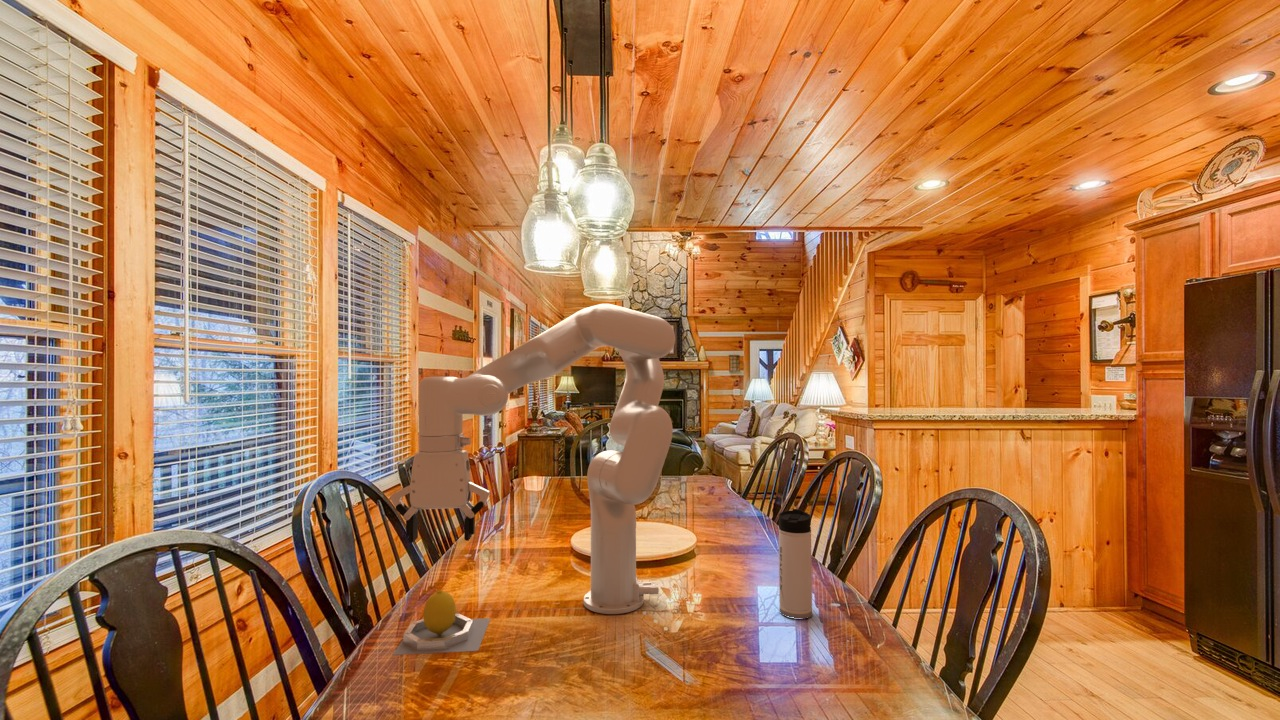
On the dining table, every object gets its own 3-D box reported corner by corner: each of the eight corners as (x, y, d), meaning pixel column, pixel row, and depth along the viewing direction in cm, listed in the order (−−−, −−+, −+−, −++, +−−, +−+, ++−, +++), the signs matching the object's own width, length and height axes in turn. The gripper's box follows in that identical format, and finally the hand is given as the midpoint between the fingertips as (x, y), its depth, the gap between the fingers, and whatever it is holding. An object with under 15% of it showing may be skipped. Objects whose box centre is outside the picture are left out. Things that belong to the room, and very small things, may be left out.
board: (490, 623, 109) (490, 618, 109) (477, 656, 96) (477, 650, 96) (415, 626, 107) (415, 621, 107) (392, 660, 94) (392, 654, 94)
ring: (476, 620, 107) (476, 612, 107) (464, 648, 96) (464, 639, 96) (416, 623, 106) (416, 615, 106) (397, 651, 95) (397, 642, 95)
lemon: (445, 643, 98) (445, 597, 98) (416, 640, 99) (417, 594, 100) (461, 629, 104) (461, 585, 104) (434, 627, 105) (434, 583, 105)
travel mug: (814, 609, 115) (813, 510, 115) (809, 622, 109) (808, 517, 109) (783, 604, 117) (782, 507, 118) (776, 616, 111) (775, 514, 112)
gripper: (492, 441, 107) (493, 532, 107) (398, 443, 105) (398, 535, 105) (485, 446, 100) (486, 544, 99) (383, 448, 98) (383, 547, 97)
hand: (440, 539), depth 102 cm, fingers open, 9 cm apart
